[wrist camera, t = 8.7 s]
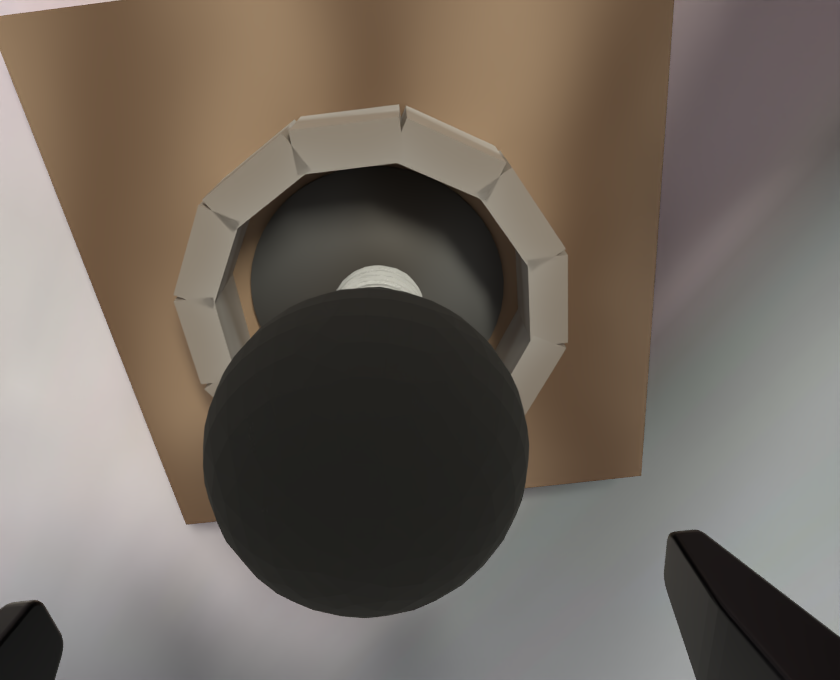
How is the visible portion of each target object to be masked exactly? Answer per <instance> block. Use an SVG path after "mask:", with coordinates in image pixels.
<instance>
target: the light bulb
mask: <svg viewBox="0 0 840 680" xmlns="http://www.w3.org/2000/svg"><path fill="white" fill-rule="evenodd" d="M528 460H529V437H528V428H527V423H526V419H525V414H524V409H523V405H522V402H521V398H520V395H519V391H518V389H517V387H516V384H515V382H514V380H513V378H512V376H511V374H510V372H509V371H508V369H507V368H506V366H505V365H504V363H503V362H502V360H501V359H500V357H499V356H498V354H497V353H496V351H495V350H494V348H493V347H492V345H491V344H490V343H489V342H488V341H487V340H486V339H485V338H484V337H483V336H482V335H481V334H480V333H479V332H478V331H477V330H476V329H475V328H473V327H472V326H471V325H470V324H469V323H468V322H466V321H465V320H464V319H463V318H462V317H460V316H459V315H457V314H456V313H454V312H453V311H451V310H449V309H447V308H445V307H443V306H442V305H440V304H438V303H436V302H434V301H432V300H429V299H426V298H423V297H422V293H421V291H420V289H419V287H418V286H417V285H416V283H415V282H414V281H413V280H412V279H411V278H410V277H409V276H408V275H407V274H406V273H404V272H402V271H400V270H398V269H396V268H392V267H387V266H382V265H381V266H380V265H374V266H368V267H364V268H361V269H359V270H356V271H354V272H353V273H351V274H350V275H349V276H348V277H347V278H345V279H344V280H343V281H342V283H341V284H340V286H339V287H338V289H337V290H336V291H333V292H329V293H326V294H323V295H319V296H316V297H313V298H309V299H307V300H304V301H302V302H300V303H298V304H296V305H293V306H291V307H289V308H287V309H286V310H285V311H283V312H282V313H280V314H279V315H277V316H276V317H274V318H273V319H271V320H270V321H268V322H267V323H265V324H264V325H262V326H261V327H260V328H259V330H258V331H257V332H256V333H255V334H254V335H253V336H252V337H251V338H250V339H249V340H248V341H247V342H246V344H245V345H244V346H243V347H242V348H241V349H240V350H239V351H238V353H237V354H236V355H235V356H234V357H233V359H232V360H231V362H230V363H229V365H228V366H227V368H226V370H225V371H224V373H223V375H222V377H221V380H220V382H219V384H218V386H217V389H216V391H215V394H214V397H213V399H212V402H211V405H210V407H209V410H208V414H207V418H206V422H205V426H204V438H203V473H204V483H205V487H206V491H207V495H208V499H209V502H210V504H211V507H212V510H213V513H214V515H215V518H216V521H217V523H218V525H219V527H220V529H221V532H222V534H223V536H224V538H225V540H226V542H227V543H228V544H229V546H230V547H231V548H232V549H233V550H234V552H235V553H236V554H237V555H238V556H239V557H240V559H241V560H242V561H243V562H244V563H245V565H246V566H247V567H248V568H249V569H250V570H251V571H252V573H253V574H254V575H255V576H256V577H257V578H258V579H259V580H261V581H262V582H263V583H264V584H266V585H267V586H268V587H269V588H271V589H272V590H273V591H275V592H276V593H277V594H279V595H281V596H283V597H285V598H287V599H289V600H291V601H293V602H296V603H298V604H300V605H303V606H305V607H308V608H310V609H312V610H316V611H321V612H325V613H330V614H334V615H339V616H346V617H358V618H370V617H380V616H388V615H392V614H397V613H402V612H407V611H412V610H415V609H417V608H420V607H422V606H424V605H427V604H429V603H431V602H433V601H436V600H437V599H439V598H441V597H443V596H444V595H446V594H448V593H449V592H451V591H453V590H454V589H456V588H458V587H459V586H461V585H462V584H464V583H465V582H466V581H467V580H468V579H469V578H470V577H471V576H472V575H474V574H475V573H476V572H477V571H478V570H479V569H480V568H481V567H482V566H483V565H484V564H485V563H486V562H487V560H488V559H489V558H490V557H491V555H492V554H493V553H494V552H495V550H496V549H497V548H498V546H499V545H500V544H501V543H502V541H503V540H504V538H505V536H506V534H507V532H508V530H509V528H510V526H511V524H512V522H513V520H514V518H515V516H516V513H517V511H518V508H519V506H520V503H521V501H522V497H523V493H524V488H525V484H526V476H527V469H528Z"/></svg>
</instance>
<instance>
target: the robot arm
mask: <svg viewBox="0 0 840 680" xmlns="http://www.w3.org/2000/svg"><path fill="white" fill-rule="evenodd" d="M664 580H665V586H666V589H667V593H668V596H669V599H670V602H671V605H672V608H673V611H674V614H675V617H676V620H677V623H678V626H679V629H680V632H681V635H682V638H683V641H684V644H685V647H686V650H687V653H688V656H689V659H690V662H691V665H692V668H693V671H694V674H695V677H696V680H840V637H839V636H838V635H837V634H835V633H834V632H833V631H831V630H830V629H829V628H828V627H826V626H825V625H824V624H822V623H821V622H820V621H818V620H817V619H816V618H814V617H813V616H812V615H811V614H809V613H808V612H807V611H805V610H804V609H803V608H801V607H800V606H799V605H798V604H796V603H795V602H794V601H792V600H791V599H790V598H788V597H787V596H786V595H784V594H783V593H782V592H781V591H779V590H778V589H777V588H775V587H774V586H773V585H771V584H770V583H769V582H768V581H766V580H765V579H764V578H762V577H761V576H760V575H758V574H757V573H756V572H754V571H753V570H752V569H751V568H749V567H748V566H747V565H745V564H744V563H743V562H741V561H740V560H739V559H738V558H736V557H735V556H734V555H732V554H731V553H730V552H728V551H727V550H726V549H724V548H723V547H722V546H721V545H719V544H718V543H717V542H715V541H714V540H713V539H711V538H710V537H709V536H708V535H706V534H705V533H703V532H702V531H699V530H685V531H676V532H672V533H670V534H669V536H668V539H667V547H666V557H665V567H664ZM62 652H63V639H62V635H61V633H60V631H59V630H58V628H57V626H56V624H55V623H54V621H53V619H52V618H51V616H50V614H49V612H48V611H47V609H46V607H45V606H44V604H43V603H41V602H40V601H38V600H29V601H20V602H13V603H9V604H7V605H5V606H4V607H2V608H1V609H0V680H55V677H56V674H57V670H58V667H59V663H60V660H61V656H62Z"/></svg>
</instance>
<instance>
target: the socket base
mask: <svg viewBox="0 0 840 680" xmlns="http://www.w3.org/2000/svg"><path fill="white" fill-rule="evenodd" d="M673 9H674V0H119V1H111V2H104V3H96V4H88V5H81V6H73V7H65V8H58V9H50V10H42V11H35V12H27V13H19V14H12V15H4V16H0V51H1V54H2V56H3V59H4V61H5V64H6V66H7V69H8V71H9V74H10V76H11V79H12V82H13V84H14V87H15V89H16V92H17V94H18V97H19V99H20V102H21V105H22V107H23V110H24V112H25V115H26V117H27V120H28V122H29V125H30V127H31V130H32V133H33V135H34V138H35V140H36V143H37V145H38V148H39V150H40V153H41V156H42V158H43V161H44V163H45V166H46V168H47V171H48V173H49V176H50V178H51V181H52V184H53V186H54V189H55V191H56V194H57V196H58V199H59V201H60V204H61V207H62V209H63V212H64V214H65V217H66V219H67V222H68V224H69V227H70V229H71V232H72V235H73V237H74V240H75V242H76V245H77V247H78V250H79V252H80V255H81V257H82V260H83V263H84V265H85V268H86V270H87V273H88V275H89V278H90V280H91V283H92V286H93V288H94V291H95V293H96V296H97V298H98V301H99V303H100V306H101V308H102V311H103V314H104V316H105V319H106V321H107V324H108V326H109V329H110V331H111V334H112V337H113V339H114V342H115V344H116V347H117V349H118V352H119V354H120V357H121V359H122V362H123V365H124V367H125V370H126V372H127V375H128V377H129V380H130V382H131V385H132V388H133V390H134V393H135V395H136V398H137V400H138V403H139V405H140V408H141V410H142V413H143V416H144V418H145V421H146V423H147V426H148V428H149V431H150V433H151V436H152V438H153V441H154V444H155V446H156V449H157V451H158V454H159V456H160V459H161V461H162V464H163V467H164V469H165V472H166V474H167V477H168V479H169V482H170V484H171V487H172V489H173V492H174V495H175V497H176V500H177V502H178V505H179V507H180V510H181V512H182V515H183V518H184V520H185V523H186V525H187V524H197V523H206V522H215V521H216V518H215V515H214V513H213V510H212V507H211V504H210V502H209V499H208V495H207V491H206V487H205V483H204V473H203V438H204V426H205V422H206V418H207V414H208V410H209V407H210V405H211V402H212V399H213V397H214V394H215V391H216V389H217V386H218V384H219V382H220V380H221V377H222V375H223V373H224V371H225V370H226V368H227V366H228V365H229V363H230V362H231V360H232V359H233V357H234V356H235V355H236V354H237V353H238V351H239V350H240V349H241V348H242V347H243V346H244V345H245V344H246V342H247V341H248V340H249V339H250V338H251V337H252V336H253V335H254V334H255V333H256V332H257V331H258V330H259V328H260V327H261V326H262V325H264V324H265V323H267V322H268V321H270V320H271V319H273V318H274V317H276V316H277V315H279V314H280V313H282V312H283V311H285V310H286V309H287V308H289V307H291V306H293V305H296V304H298V303H300V302H302V301H304V300H307V299H309V298H313V297H316V296H319V295H323V294H326V293H329V292H333V291H336V290H337V289H338V287H339V286H340V284H341V283H342V281H343V280H344V279H345V278H347V277H348V276H349V275H350V274H351V273H353V272H354V271H356V270H359V269H361V268H364V267H368V266H374V265H380V266H381V265H382V266H387V267H392V268H396V269H398V270H400V271H402V272H404V273H406V274H407V275H408V276H409V277H410V278H411V279H412V280H413V281H414V282H415V283H416V285H417V286H418V287H419V289H420V291H421V293H422V297H423V298H426V299H429V300H432V301H434V302H436V303H438V304H440V305H442V306H443V307H445V308H447V309H449V310H451V311H453V312H454V313H456V314H457V315H459V316H460V317H462V318H463V319H464V320H465V321H466V322H468V323H469V324H470V325H471V326H472V327H473V328H475V329H476V330H477V331H478V332H479V333H480V334H481V335H482V336H483V337H484V338H485V339H486V340H487V341H488V342H489V343H490V344H491V345H492V347H493V348H494V350H495V351H496V353H497V354H498V356H499V357H500V359H501V360H502V362H503V363H504V365H505V366H506V368H507V369H508V371H509V372H510V374H511V376H512V378H513V380H514V382H515V384H516V387H517V389H518V391H519V395H520V398H521V402H522V405H523V409H524V414H525V419H526V423H527V428H528V437H529V460H528V469H527V476H526V484H525V488H531V487H541V486H550V485H559V484H568V483H578V482H587V481H596V480H606V479H615V478H624V477H633V476H641V470H642V456H643V441H644V427H645V412H646V398H647V383H648V369H649V355H650V340H651V326H652V311H653V297H654V283H655V268H656V254H657V239H658V225H659V210H660V196H661V182H662V167H663V153H664V138H665V124H666V110H667V95H668V81H669V66H670V52H671V37H672V23H673Z"/></svg>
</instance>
